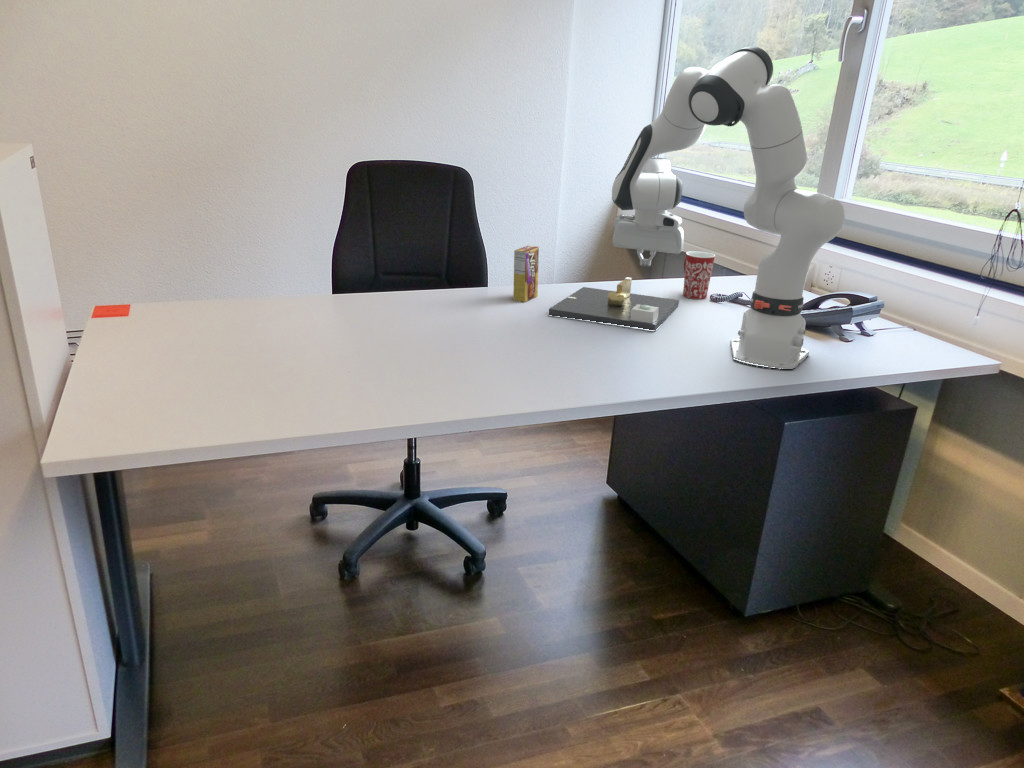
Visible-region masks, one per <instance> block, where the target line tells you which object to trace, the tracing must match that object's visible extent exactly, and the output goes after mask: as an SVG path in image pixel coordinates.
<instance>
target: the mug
mask: <svg viewBox="0 0 1024 768" xmlns="http://www.w3.org/2000/svg"><path fill="white" fill-rule="evenodd" d="M715 258H716V254H714V253H711V252H705V251H698V250H696V251H695V250H693V251H687V252H685V258H684V262H683V272H684V280H683V290H682V291H683V293H682V294H683V297H685V298H687V299H694V300H705V299H706V298H708V297H707V296H708V292H709V285H710V282H711V278H712V277H711V276H712V272H713V268H714V261H715Z"/></svg>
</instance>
